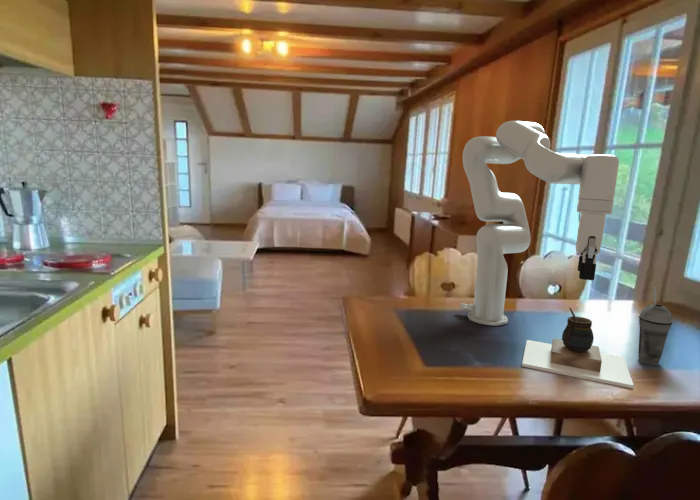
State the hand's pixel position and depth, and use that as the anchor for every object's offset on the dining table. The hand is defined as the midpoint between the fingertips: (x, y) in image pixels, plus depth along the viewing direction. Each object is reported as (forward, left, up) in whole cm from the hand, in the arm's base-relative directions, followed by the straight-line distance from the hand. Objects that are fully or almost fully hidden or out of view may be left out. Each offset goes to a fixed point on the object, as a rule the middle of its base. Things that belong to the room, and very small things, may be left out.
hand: (585, 275), depth 111 cm
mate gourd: (0, 0, -20) cm, 20 cm away
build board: (0, 0, -23) cm, 23 cm away
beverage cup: (+18, +11, -23) cm, 32 cm away
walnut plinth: (0, 0, -22) cm, 22 cm away
